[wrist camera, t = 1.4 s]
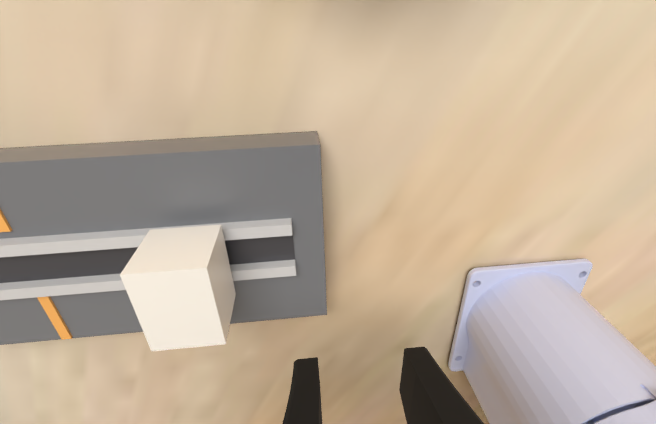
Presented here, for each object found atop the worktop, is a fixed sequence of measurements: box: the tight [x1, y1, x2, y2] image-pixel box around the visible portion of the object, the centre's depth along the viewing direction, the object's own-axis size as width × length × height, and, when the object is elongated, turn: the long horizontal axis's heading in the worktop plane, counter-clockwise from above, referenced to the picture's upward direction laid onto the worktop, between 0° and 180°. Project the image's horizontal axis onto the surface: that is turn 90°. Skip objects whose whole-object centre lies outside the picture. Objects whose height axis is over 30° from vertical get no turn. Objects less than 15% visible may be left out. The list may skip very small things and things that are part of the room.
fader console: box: [0, 131, 327, 345], centre depth 17 cm, size 10×20×3 cm, turn 92°
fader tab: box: [120, 225, 236, 351], centre depth 15 cm, size 4×3×4 cm
